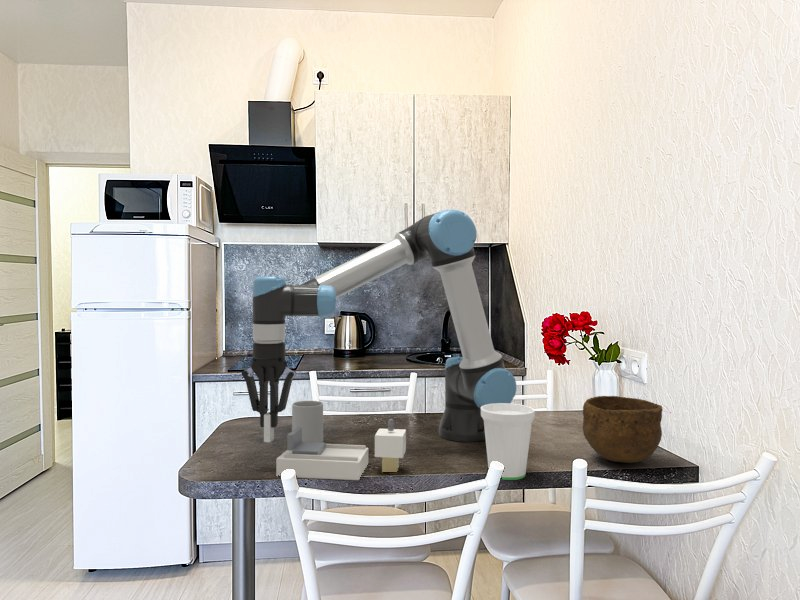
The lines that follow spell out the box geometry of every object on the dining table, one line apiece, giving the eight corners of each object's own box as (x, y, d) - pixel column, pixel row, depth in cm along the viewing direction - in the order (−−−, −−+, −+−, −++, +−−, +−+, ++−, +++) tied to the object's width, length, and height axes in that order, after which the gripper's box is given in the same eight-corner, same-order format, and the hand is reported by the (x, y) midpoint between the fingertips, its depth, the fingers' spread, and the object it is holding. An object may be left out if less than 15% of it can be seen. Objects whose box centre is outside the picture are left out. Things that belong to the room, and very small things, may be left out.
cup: (516, 487, 125) (517, 416, 125) (469, 474, 134) (469, 408, 133) (544, 473, 135) (545, 408, 134) (498, 462, 143) (498, 400, 143)
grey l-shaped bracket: (326, 447, 140) (326, 428, 140) (317, 456, 133) (317, 436, 132) (297, 446, 141) (297, 427, 141) (287, 455, 133) (287, 435, 133)
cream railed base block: (368, 464, 141) (368, 444, 141) (358, 480, 129) (358, 458, 129) (292, 460, 144) (292, 441, 143) (276, 476, 132) (276, 455, 131)
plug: (405, 466, 139) (406, 416, 139) (402, 475, 133) (403, 422, 133) (379, 465, 140) (379, 415, 140) (374, 474, 134) (374, 421, 133)
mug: (320, 447, 155) (320, 406, 155) (288, 447, 156) (288, 406, 155) (327, 436, 167) (327, 398, 167) (298, 435, 168) (298, 397, 167)
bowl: (673, 476, 134) (674, 411, 133) (588, 471, 137) (589, 408, 136) (651, 453, 152) (652, 396, 152) (577, 449, 155) (578, 393, 155)
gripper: (300, 340, 140) (300, 437, 141) (248, 339, 142) (248, 435, 142) (290, 343, 133) (290, 446, 133) (236, 342, 134) (236, 443, 135)
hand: (268, 440), depth 138 cm, fingers closed
